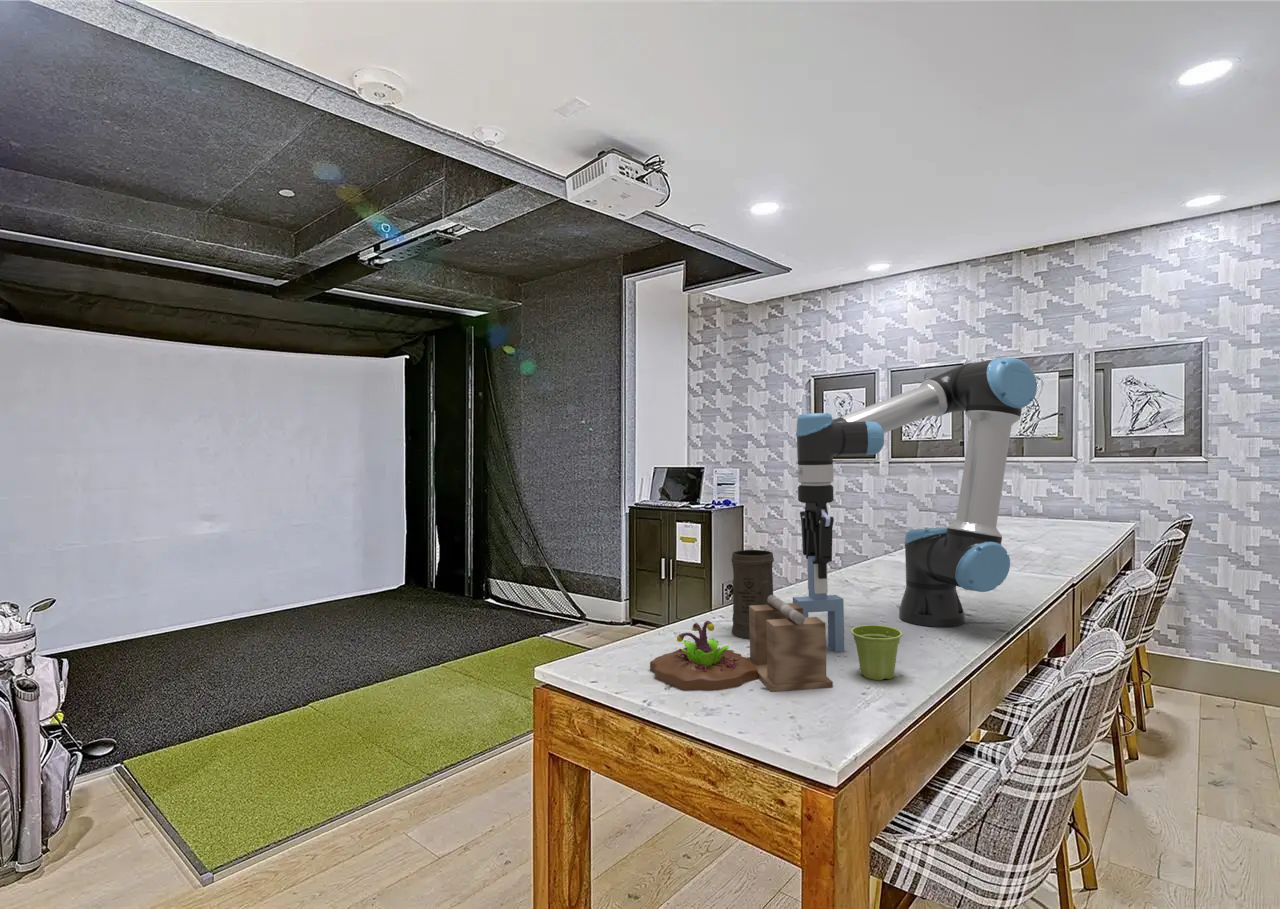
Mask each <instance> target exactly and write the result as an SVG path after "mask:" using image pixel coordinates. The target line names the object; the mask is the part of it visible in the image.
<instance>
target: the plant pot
mask: <svg viewBox="0 0 1280 909" xmlns="http://www.w3.org/2000/svg"><path fill="white" fill-rule="evenodd" d="M850 632H851V634H852V635H853V640H854V642H855V646H856V651H857V652H856V653H857V657H858V658H857V659H858V663H859V664H858V665H859V670H860V674H861V675H862V676H864V678H867V679H869V680H874V681H883V680H884V679H885V680H886V679H887V680H891V679H893V678H894V677H895V671H896V670H895V669H896V662H897V653H898V646H899V644H900V640H901V638H902V636H903V632H902V631H901V630H900V629H899V628H898V629H897V628H895V627H892V626H887V625H881V624H880V625H878V624H864V625H863V624H862V625H857V626H855V627H854V626H853V628H851V629H850Z"/></svg>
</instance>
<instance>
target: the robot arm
mask: <svg viewBox="0 0 1280 909" xmlns="http://www.w3.org/2000/svg"><path fill="white" fill-rule="evenodd" d="M1037 382H1038V381H1037V378H1036V375H1035V373H1034V371H1033V370H1031V367H1030V366H1029V365H1028V363H1026V362H1025V361H1023V360H1021V359H1020V358H1017V357H1003V358H1002V357H997V358H994V359H989V360H982V361H977V362H969V363H964V364H961V365H958V366H956V367H954V368H951V369H949V370H947V371H945V372H943V373H940V374H937V375H935V376H933V377H931V378H928V379H925V380H923V381H922V382H921V383H920V385H919V386H918V387H916V388H913V389H911V390H908V391H906V392H902V393H900V394H898V395H895V396H892V397H889V398H887V399H884V400H882V401H879V402H876V403H873V404H871V405H868V406H865V407H863V408H860V409H858V410H854V411H852V412H850V413H847V414H845V415H842V416H839V417H837V418H834V419H833V416H832V414H831V413H828V412H819V413H818V412H817V413H816V412H815V413H813V412H812V413H801V414H800V415H798V416H797V420H796V431H795V432H796V433H795V436H796V450H797V451H796V452H797V456H796V458H797V469H796V470H795V473H796V474H797V482H798V483H800V484H799V485H798V487H797V500H798V501H799V502H800V503H802V504H805V505H804V510H803V511H801V510H800V511H799V517H800V522H801V535H802V536H801V539H802V554H803V556H805V558H806V560H807V562H806V563H807V568H808V556H815V559H816V561H812V562H813V564H814V593H815V594H820V593H827V594H828V591H829V590H828V588H829V586H828V585H829V584H828V564H829V563H831V562H832V561H833V528H834V526H833V525H834V523H835V522H834V521H835V519H834V517H833V516H829V512H828V510H829V509H828V506H827V504H828V503H832V502H834V498H835V497H834V486H833V485H832V483H833V482H834V457H840V456H842V457H845V456H848V457H849V456H850V457H851V456H855V457H856V456H864V457H867V456H871V455H872V456H873V455H877V454H879V453H880V452H881V451H882V449H883V447H884V445H885V433H887V432H891V431H893V430H895V429H898V428H902V427H903V426H906V425H909V424H911V423H914V422H916V421H919V420H921V419H924V418H927V417H929V416H933V417H941V416H944V415H946V414H950V413H958V412H962V411H963V412H964V411H965V412H964V415H965V416H966V417H967V418H968V419H969V420H970V426H969V431H968V438H967V445H966V453H965V458H964V465H963V470H962V478H961V484H960V490H959V495H958V502H957V503H958V504H957V509H956V516H955V521H954V522H952V523H951V524H949V525H948V526H947V527H935V528H934V527H931V528H917V529H916V528H915V529H909V530H908V531H906V533H905V539H904V547H905V549H904V550H905V551H904V553H905V554H904V556H905V590H904V593H903V596H902V599H901V602H900V605H899V609H898V612H899V614H898V615H899V616H898V617H899V619H900V620H901V621H904V622H905V623H909V624H913V625H918V626H919V625H920V626H924V627H926V626H927V627H933V628H934V627H937V628H939V627H940V628H941V627H943V628H944V627H946V628H947V627H956V626H960V625H963V624H965V612H964V608H963V606H962V603H961V600H960V597H959V594H958V592H957V587H959V588H962V589H963V590H966V591H973V592H979V593H986V592H991V591H993V590H995V589H996V588H998V587H999V586H1000V585H1002V584H1003V583H1004V581H1006V579H1007V577H1008V574H1009V572H1010V568H1011V558H1010V555H1009V554H1008V551H1007V549H1006V548H1004V546H1003V545H1002V540H1003V534H1001V532H1000V531H999V530H998V529H997V525H998V519H999V510H1000V505H1001V504H1000V503H1001V497H1002V493H1003V492H1002V491H1003V484H1004V478H1005V471H1006V465H1007V459H1008V458H1007V457H1008V452H1009V445H1010V440H1011V433H1012V427H1013V425H1014V424H1016V423H1017V422H1018V421H1020V420H1021V418H1022V417H1021V416H1022V410H1023V408H1025V407H1027V406H1029V405H1030V404H1031V402H1033V401H1034V399H1035V398H1036V395H1037V390H1038V383H1037ZM807 590H808V591H809V588H808V587H807Z"/></svg>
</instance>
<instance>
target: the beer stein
mask: <svg viewBox="0 0 1280 909" xmlns="http://www.w3.org/2000/svg"><path fill="white" fill-rule="evenodd" d="M774 561H775V558H774V553H773V552H772V551H770V550H764V549H763V550H762V549H744V550H741V549H740V550H737V551H733V552H732V554H731V563H732V564H731V565H732V571H733V572H732V573H733V574H732V575H733V579H732V619H731V620H732V627H731V633H732V635H734V636H735V637H737V638H740V639H746V640H750V632H749V606H752V605H769V603H768V601H767V599H768V597H769V596H770V595H774V579H773V576H774V575H773V563H774Z"/></svg>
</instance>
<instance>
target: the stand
mask: <svg viewBox="0 0 1280 909" xmlns="http://www.w3.org/2000/svg"><path fill="white" fill-rule="evenodd" d="M767 601H768V603H769V605H752V606H749V632H750V639H749V656H747V657H746V658H748V659H749V660H750V662H751V663H752V664H753V665H754V666H755V667H756V669H757V670H758V680H760V681H761V683H762V684H763V685H764V686H765V687H766V688H767V689H768V690H769V692H771V693H772V692H786V691H796V690H797V691H798V690H799V691H801V690H811V689H824V688H825V689H827V688H833V687H834V683H833V682H834V681H833V680H831V678H829V677H828V676H827V644H826V643H827V636H826V635H827V634H826V633H827V632H826V631H827V630H826V622H825V621H823V620H822V619H820V618H819V617H817V616H808V617H804V615H803V608H802V607H800V606H799V605H797V604H796V603H793V602H792V603H791V602H790V603H788V602H787V603H786V602H785V601H784V600H782V599H780V598H779V597H777V596H776V595H774V594H773V595H770V596H769V597H768V599H767Z"/></svg>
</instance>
